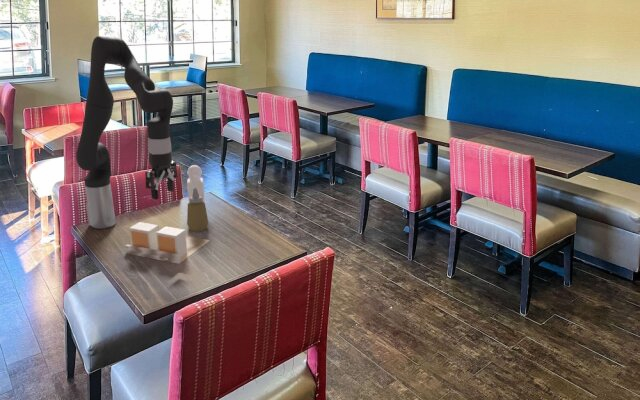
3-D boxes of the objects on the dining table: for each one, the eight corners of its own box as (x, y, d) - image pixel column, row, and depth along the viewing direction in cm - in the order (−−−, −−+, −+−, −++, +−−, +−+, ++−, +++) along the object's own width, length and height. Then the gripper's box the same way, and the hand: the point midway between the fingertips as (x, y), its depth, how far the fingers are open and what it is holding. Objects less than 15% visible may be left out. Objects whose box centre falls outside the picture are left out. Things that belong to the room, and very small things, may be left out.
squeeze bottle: (204, 236, 209) (200, 192, 203) (184, 234, 211) (180, 191, 204) (212, 228, 217) (209, 185, 210) (193, 226, 218) (189, 184, 212)
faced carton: (142, 244, 199) (139, 221, 196) (160, 248, 197) (158, 225, 193) (131, 251, 194) (128, 228, 191) (150, 255, 191) (147, 231, 188)
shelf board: (125, 257, 193) (124, 245, 191) (160, 234, 211) (159, 224, 209) (179, 268, 186) (178, 256, 184) (210, 243, 204) (209, 232, 202)
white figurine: (205, 217, 227) (202, 167, 219) (189, 218, 225) (185, 168, 217) (205, 211, 233) (202, 162, 225) (190, 212, 231) (186, 163, 223)
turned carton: (168, 249, 196) (165, 226, 193) (187, 252, 193) (185, 229, 190) (158, 256, 191) (155, 232, 187) (177, 260, 188) (175, 236, 185)
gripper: (163, 143, 191) (166, 186, 197) (136, 153, 178) (140, 199, 184) (181, 146, 188) (184, 190, 194) (155, 157, 176) (159, 203, 182)
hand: (163, 194), depth 189 cm, fingers open, 8 cm apart
